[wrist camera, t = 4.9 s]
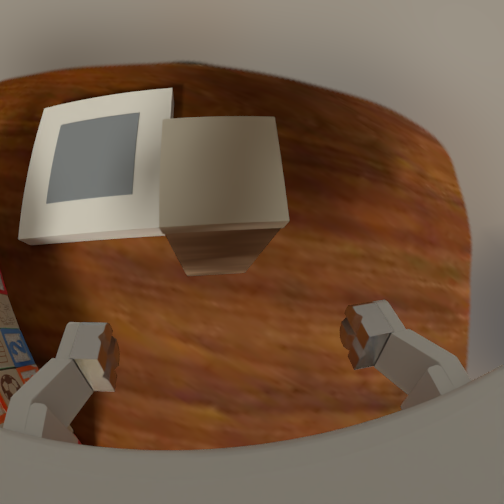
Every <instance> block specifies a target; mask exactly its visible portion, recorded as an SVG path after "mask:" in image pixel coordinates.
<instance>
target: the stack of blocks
mask: <svg viewBox="0 0 504 504" xmlns="http://www.w3.org/2000/svg"><path fill="white" fill-rule="evenodd" d="M38 371H39V369H38V367H37V365H36V364H35V362H34V360H33V357H32V355H31V353H30V351H29V349H28V346H27V344H26V342H25V340H24V337H23V335H22V332H21V330H20V329H19V325H18V323H17V320H16V318H15V315H14V312H13V310H12V307H11V304H10V301H9V298H8V293H7V290H6V287H5V283H4V280H3V277H2V273H1V270H0V427H1V428H3V425H4V421H5V417H6V413H7V410H8V406H9V403H10V399H11V397H12V396H13V395H14V394H15V393H16V392H17V391H18V390H19V389H20V388H21V387H22V386H23V385H24V384H25V383H26V382H27V381H28V380H29V379H30V378H31V377H32V376H33V375H34V374H35V373H37V372H38ZM67 428H68V429H69V430H70V431H71V432H72V433H73V429H72V427H71V426H70V424H69V426H68V427H67ZM73 434H74V433H73ZM74 435H75V434H74ZM75 436H76V435H75ZM76 438H77V437H76ZM77 439H78V438H77ZM78 444H81V442H80V441H79V440H78Z"/></svg>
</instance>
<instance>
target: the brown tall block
mask: <svg viewBox="0 0 504 504" xmlns="http://www.w3.org/2000/svg"><path fill="white" fill-rule="evenodd" d="M288 222H289V213H288V206H287V198H286V190H285V183H284V176H283V169H282V162H281V155H280V148H279V141H278V135H277V128H276V122H275V117H265V116H215V117H189V118H173V119H163V122H162V137H161V156H160V185H159V228H160V230H161V232H162V234H165V235H166V237H167V239H168V241H169V243H170V245H171V247H172V248H173V250H174V252H175V254H176V256H177V258H178V260H179V262H180V264H181V265H182V267H183V269H184V271H185V273H186V275H187V276H200V275H216V274H232V273H245V272H246V270H247V269H248V268H249V267H250V266H251V264H252V263H253V262H254V261H255V259H256V258H257V257H258V256H259V254H260V253H261V252H262V251H263V249H264V248H265V247H266V246H267V245H268V243H269V242H270V241H271V240H272V238H273V237H274V236H275V235H276V233H277V232H278V231H279V230H280V228H284V227H285V226H286V224H287V223H288Z"/></svg>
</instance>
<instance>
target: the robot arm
mask: <svg viewBox="0 0 504 504" xmlns="http://www.w3.org/2000/svg"><path fill="white" fill-rule="evenodd" d="M345 315H346V318H345V319H344V320H343V321H342V322H341V326H340V339H341V342H342V344H343V347H345V348H346V349H348V350H349V354H348V358H349V360H350V362H351V364H352V366H353V368H354V370H356V369H361V368H366V367H371V366H374V367H375V368H376V369H377V370H379V371H380V372H381V373H382V374H383V375H385V376H386V377H387V378H388V379H389V380H391V381H392V382H393V383H394V384H396V385H397V386H398V387H399V388H400V389H402V390H403V391H404V392H405V393H407V394H408V396H407V398H406V399H405V400H404V401H403V403H402V405H401V409H402V410H401V411H399V412H396V413H393V414H390V415H387V416H384V417H381V418H377V419H374V420H371V421H368V422H364V423H361V424H357V425H353V426H350V427H346V428H342V429H338V430H334V431H330V432H326V433H321V434H317V435H312V436H307V437H302V438H297V439H291V440H285V441H279V442H273V443H266V444H259V445H251V446H242V447H232V448H219V449H203V450H135V449H119V448H107V447H98V446H89V445H82V444H78V439H77V438H76V436H75V435H74V434H73V433H72V432H71V431H70V430H69V429H68V428H67V427H68V426H69V424H70V423H71V422H72V420H73V419H74V418H75V416H76V415H77V413H78V412H79V411H80V409H81V408H82V407H83V405H84V404H85V403H86V401H87V400H88V399H89V397H90V396H91V395H92V393H93V391H115V388H116V381H117V374H116V372H115V369H116V368H117V367H118V365H119V360H120V353H119V346H118V343H117V340H116V339H115V338H114V337H113V336H112V331H113V330H112V328H111V325H110V324H109V323H95V322H69V323H68V324H67V325H66V328H65V331H64V334H63V337H62V340H61V343H60V346H59V349H58V352H57V355H56V358H52V359H50V360H49V361H48V362H47V363H46V364H45V365H44V366H43V367H42V368H41V369H40V370H39V371H38V372H37V373H35V374H34V375H33V376H32V377H31V378H30V379H29V380H28V381H27V382H26V383H25V384H24V385H23V386H22V387H21V388H20V389H19V390H18V391H17V392H16V393H15V394H14V395H13V396H12V397H11V399H10V403H9V406H8V410H7V413H6V417H5V421H4V425H3V428H1V427H0V504H504V364H503V365H501V366H499V367H497V368H495V369H494V370H492V371H490V372H488V373H486V374H484V375H482V376H480V377H478V378H477V379H474V380H472V381H471V379H470V377H469V376H468V374H467V372H466V371H465V369H464V368H463V366H462V365H461V363H460V361H459V360H458V358H457V357H456V356H454V355H453V354H451V353H449V352H448V351H446V350H444V349H443V348H441V347H439V346H437V345H436V344H434V343H432V342H431V341H429V340H427V339H426V338H424V337H422V336H420V335H419V334H417V333H415V332H414V331H412V330H410V329H407V330H406V329H405V327H404V325H403V324H402V322H401V321H400V319H399V318H398V316H397V315H396V313H395V312H394V310H393V309H392V307H391V306H390V304H389V303H388V302H387V301H386V300H379V301H373V302H366V303H360V304H353V305H348V306H347V308H346V310H345Z"/></svg>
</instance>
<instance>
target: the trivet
mask: <svg viewBox="0 0 504 504" xmlns="http://www.w3.org/2000/svg"><path fill="white" fill-rule="evenodd" d="M173 113H174V97H173V88H164V89H153V90H144V91H135V92H127V93H120V94H113V95H107V96H101V97H95V98H90V99H85V100H79V101H75V102H70V103H65V104H61V105H57V106H53V107H49V108H45V109H44V112H43V115H42V118H41V121H40V125H39V128H38V132H37V136H36V139H35V143H34V147H33V151H32V155H31V160H30V164H29V169H28V174H27V179H26V184H25V190H24V196H23V203H22V209H21V217H20V226H19V235H18V240H20V241H22V242H25V243H27V244H29V245H41V244H53V243H65V242H78V241H91V240H104V239H118V238H132V237H147V236H163V235H165V234H162V232H161V230H160V228H159V185H160V156H161V137H162V122H163V119H173Z"/></svg>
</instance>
